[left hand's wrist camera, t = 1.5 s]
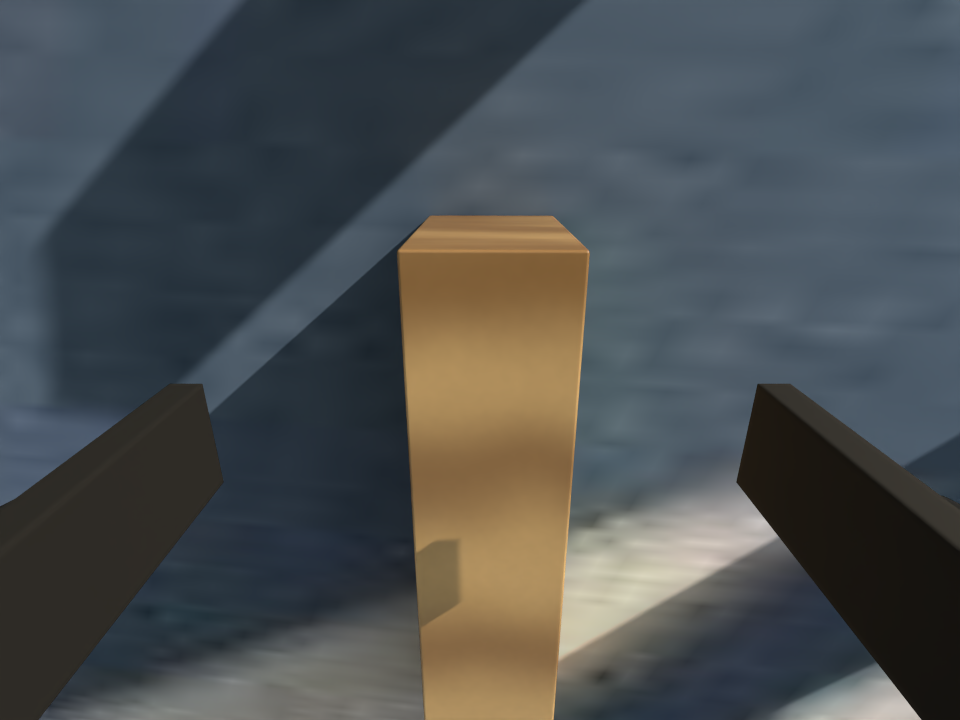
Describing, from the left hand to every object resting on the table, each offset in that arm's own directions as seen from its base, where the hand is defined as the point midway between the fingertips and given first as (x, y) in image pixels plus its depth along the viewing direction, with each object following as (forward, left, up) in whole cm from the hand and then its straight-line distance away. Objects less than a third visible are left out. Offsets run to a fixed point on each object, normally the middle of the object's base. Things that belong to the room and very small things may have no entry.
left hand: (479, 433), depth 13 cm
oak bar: (0, +10, -10) cm, 14 cm away
